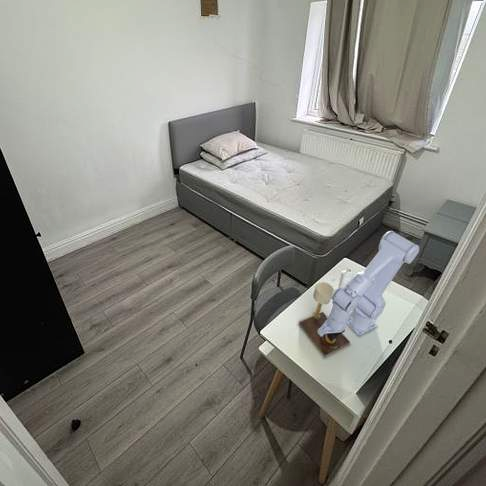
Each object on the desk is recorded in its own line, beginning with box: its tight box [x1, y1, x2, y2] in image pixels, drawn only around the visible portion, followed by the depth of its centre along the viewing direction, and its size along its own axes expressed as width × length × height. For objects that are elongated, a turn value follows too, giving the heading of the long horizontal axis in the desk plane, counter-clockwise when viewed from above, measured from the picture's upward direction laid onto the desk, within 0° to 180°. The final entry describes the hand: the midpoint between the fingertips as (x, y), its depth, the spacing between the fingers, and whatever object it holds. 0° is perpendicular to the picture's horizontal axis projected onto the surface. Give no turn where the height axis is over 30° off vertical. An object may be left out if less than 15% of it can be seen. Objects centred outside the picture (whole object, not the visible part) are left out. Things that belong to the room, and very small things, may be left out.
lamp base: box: [298, 311, 351, 358], centre depth 112 cm, size 12×15×4 cm
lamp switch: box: [325, 335, 336, 344], centre depth 108 cm, size 4×4×2 cm
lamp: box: [312, 281, 335, 319], centre depth 112 cm, size 6×6×17 cm
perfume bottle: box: [337, 267, 354, 289], centre depth 125 cm, size 5×4×15 cm
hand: (330, 338), depth 108 cm, fingers closed, pressing on lamp switch
